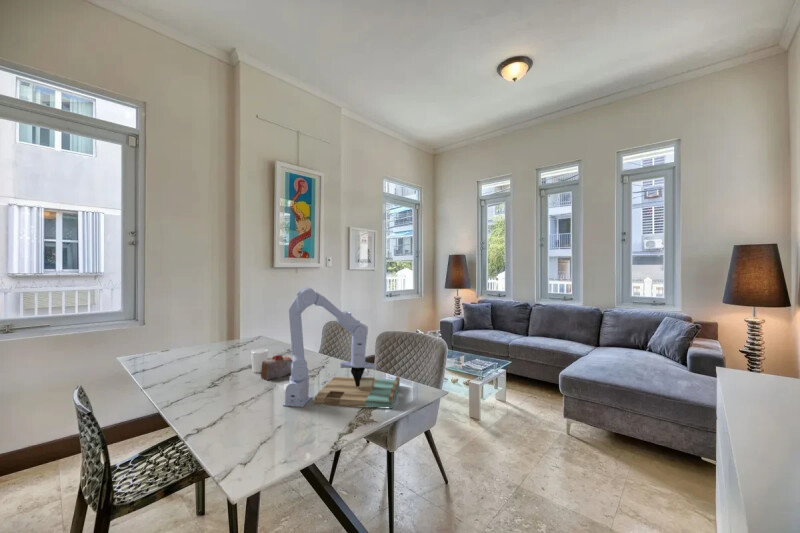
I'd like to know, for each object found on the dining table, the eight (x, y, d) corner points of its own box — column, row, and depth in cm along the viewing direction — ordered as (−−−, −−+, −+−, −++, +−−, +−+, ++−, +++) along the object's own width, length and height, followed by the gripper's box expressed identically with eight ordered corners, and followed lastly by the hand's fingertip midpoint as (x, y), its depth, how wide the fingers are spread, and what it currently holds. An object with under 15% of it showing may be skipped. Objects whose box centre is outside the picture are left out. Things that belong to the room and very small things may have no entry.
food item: (285, 371, 163) (286, 351, 163) (294, 374, 158) (295, 354, 158) (259, 378, 153) (259, 357, 153) (268, 381, 148) (268, 360, 148)
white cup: (263, 373, 159) (264, 352, 159) (247, 373, 159) (248, 352, 159) (270, 368, 167) (270, 348, 167) (255, 368, 167) (255, 348, 167)
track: (391, 409, 121) (391, 397, 121) (314, 404, 124) (314, 392, 124) (399, 385, 145) (399, 376, 145) (334, 382, 148) (334, 372, 148)
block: (371, 391, 131) (372, 381, 131) (359, 390, 132) (359, 380, 132) (374, 386, 136) (374, 377, 136) (362, 386, 137) (362, 376, 137)
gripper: (377, 351, 138) (376, 383, 138) (344, 349, 140) (343, 381, 140) (374, 355, 131) (373, 389, 131) (339, 354, 133) (338, 387, 133)
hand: (357, 385), depth 135 cm, fingers closed
